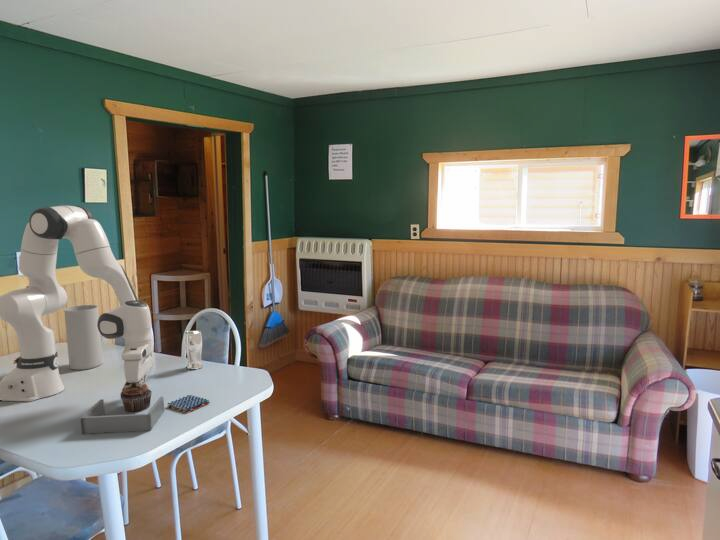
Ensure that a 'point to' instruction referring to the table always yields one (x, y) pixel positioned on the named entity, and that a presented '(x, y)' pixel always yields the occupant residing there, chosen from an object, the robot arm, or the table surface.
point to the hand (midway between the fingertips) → (142, 386)
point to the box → (120, 419)
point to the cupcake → (136, 396)
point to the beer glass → (193, 349)
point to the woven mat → (188, 403)
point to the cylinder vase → (83, 337)
